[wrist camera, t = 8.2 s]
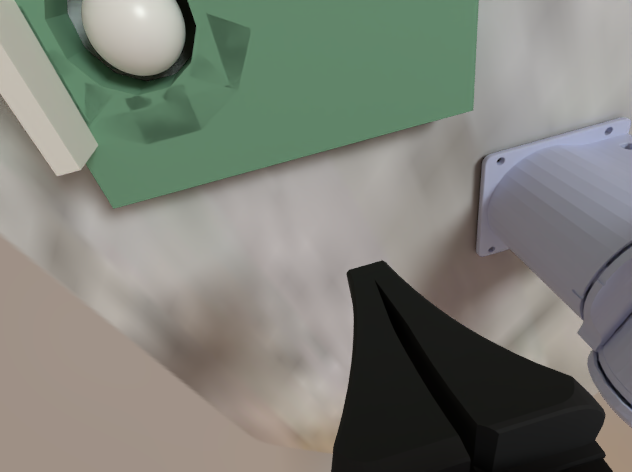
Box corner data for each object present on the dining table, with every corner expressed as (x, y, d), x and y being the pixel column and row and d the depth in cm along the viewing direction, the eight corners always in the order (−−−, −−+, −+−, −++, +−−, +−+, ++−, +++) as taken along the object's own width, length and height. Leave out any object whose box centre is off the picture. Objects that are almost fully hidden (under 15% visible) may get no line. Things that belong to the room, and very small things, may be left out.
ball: (130, -39, 15) (190, -39, 14) (160, 56, 18) (213, 66, 16) (41, -25, 13) (98, -23, 12) (88, 81, 16) (142, 95, 14)
